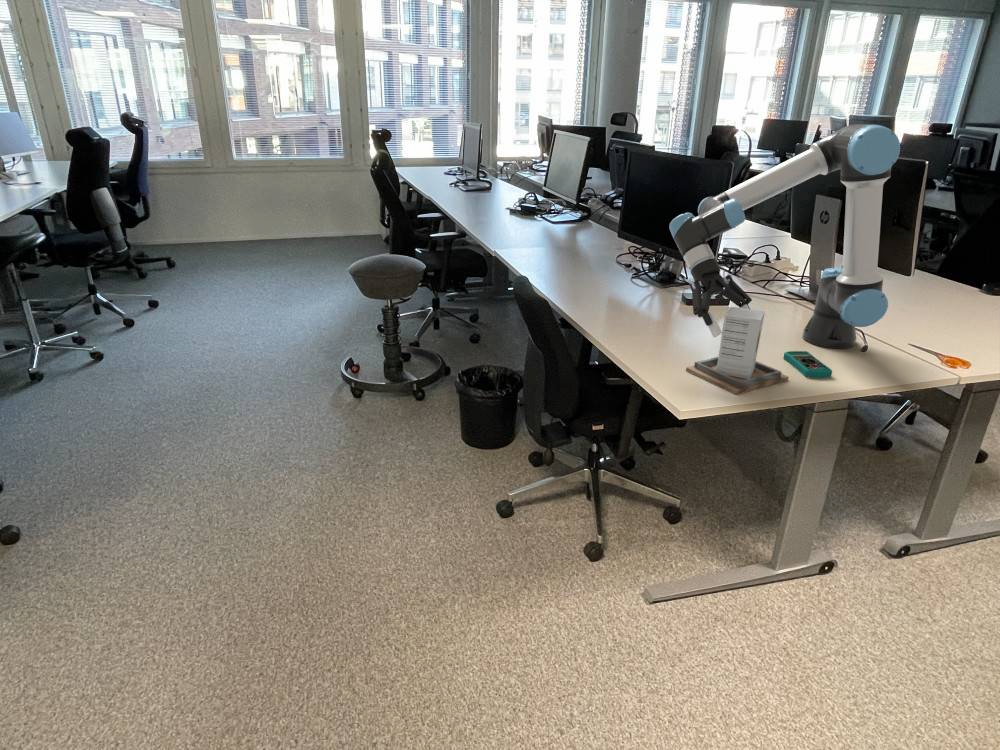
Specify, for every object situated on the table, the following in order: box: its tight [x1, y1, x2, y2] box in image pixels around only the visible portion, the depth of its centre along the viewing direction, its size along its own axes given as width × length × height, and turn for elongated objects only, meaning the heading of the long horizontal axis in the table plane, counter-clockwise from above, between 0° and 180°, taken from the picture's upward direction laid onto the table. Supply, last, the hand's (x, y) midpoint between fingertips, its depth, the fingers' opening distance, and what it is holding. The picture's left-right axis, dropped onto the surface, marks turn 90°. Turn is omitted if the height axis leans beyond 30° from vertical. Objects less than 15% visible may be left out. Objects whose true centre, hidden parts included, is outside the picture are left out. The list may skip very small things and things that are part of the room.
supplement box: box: [716, 306, 765, 379], centre depth 172 cm, size 10×9×17 cm
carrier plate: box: [685, 356, 790, 395], centre depth 174 cm, size 20×18×2 cm
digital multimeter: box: [782, 350, 833, 379], centre depth 180 cm, size 7×15×3 cm, turn 2°
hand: (735, 331), depth 172 cm, fingers open, 13 cm apart
